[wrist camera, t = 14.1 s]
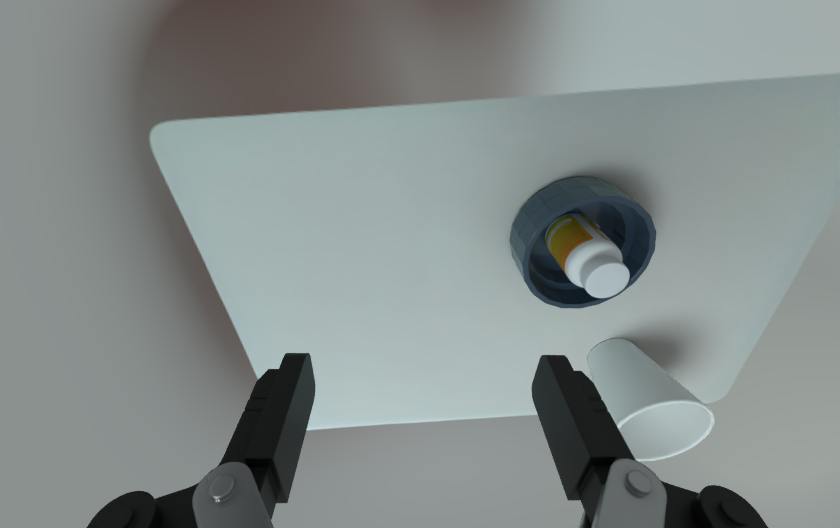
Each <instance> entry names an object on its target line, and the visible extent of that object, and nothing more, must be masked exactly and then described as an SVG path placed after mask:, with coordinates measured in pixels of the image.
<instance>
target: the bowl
mask: <svg viewBox="0 0 840 528" xmlns="http://www.w3.org/2000/svg"><path fill="white" fill-rule="evenodd" d="M569 213H579V214H582V215H584V216H586V217H587V218H588V219H590V220H591V221H592V222H593V223H594V224H595V225H596V226H597V227H598V228H599V229H600V230H601V231H602V232H603V233H604V234H605V235H606V236H607V237H608V238H609V239H610V240H611V241H612V242H613V243H614V244H615V245H616V246H617V247H618V248H619V250H620V251H621V254H622V262H623V264H624V265H625V266H626V267H627V268H628V270H629V273H630V278H629V281H628V283H627V285H626V286H625V288H624V289H623V290H622V291H620V292H619V293H617V294H616V295H614V296H611V297H608V298H596V297H593V296H591V295H590V294H589V293H588V292H587V291H586V290H585V289H584V288H583V287H579V286H577V285H575V284H574V283H572V282H571V281H570V280H569V278H568V277H567V276H566V274H565V273H564V271H563V270H562V268H561V267H560V265H559V264H558V262H557V261H556V259H555V258H554V257H553V255H552V254H551V252H550V251H549V249H548V248H547V246H546V243H545V234H546V231H547V229H548V227H549V225H550V224H551V223H552V222H553V221H554V220H555V219H557V218H558V217H560V216H562V215H565V214H569ZM655 240H656V230H655V227H654V224H653V221H652V218H651V216H650V215H649V214H648V213H647V212H646V211H645V210H644V209H643V208H642V207H641V206H640V205H639V204H638V203H637V202H635V201H634V200H633V199H631V198H630V197H628V196H627V195H625V194H624V193H622V192H621V191H620V190H618V189H617V188H615V187H614V186H612V185H611V184H609V183H607V182H604V181H601V180H599V179H596V178H590V177H573V178H569V179H565V180H562V181H558V182H555V183H553V184H551V185H549V186H548V187H546V188H544V189H543V190H541V191H539V192H537V194H535V195H534V196H533V197H532V198H531V199H530V200H529V201H528V202H527V203H526V204H525V205H524V206H523V207H522V208H521V210H520V212H519V214H518V216H517V217H516V219H515V221H514V223H513V226H512V231H511V236H510V246H511V252H512V256H513V258H514V260H515V262H516V264H517V266H518V268H519V271H520V273H521V275H522V277H523V279H524V281H525V282H526V284H527V286H528V287H529V289H530V291H531V292H532V294H533V295H535V296H536V297H538V298H539V299H540V300H542V301H543V302H545V303H547V304H550V305H553V306H557V307H560V308H584V307H588V306H593V305H597V304H600V303H602V302H605V301H607V300H609V299H611V298H613V297H615V296H617V295H619V294H620V293H621V292H623V291H624V290H625V289H627V288H628V287H629V286H631V285H632V284H633V283H635V281H636V280H637V279H638V278H639V276H640V275H641V274H642V273H643V272H644V270H645V269H646V268H647V266H648V264H649V262H650V259H651V257H652V255H653V253H654V250H655Z"/></svg>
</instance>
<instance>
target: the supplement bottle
mask: <svg viewBox="0 0 840 528" xmlns="http://www.w3.org/2000/svg"><path fill="white" fill-rule="evenodd" d="M545 243H546V246H547V248H548V249H549V251H550V252H551V254H552V255H553V257H554V258H555V259H556V261H557V262H558V264H559V265H560V267H561V268H562V270H563V271H564V273H565V274H566V276H567V277H568V278H569V280H570V281H571V282H572V283H574V284H575V285H577V286H579V287H583V288H584V289H585V290H586V291H587V292H588V293H589V294H590V295H591V296H593V297H596V298H608V297H611V296H614V295H616V294H617V293H619V292H620V291H622V290H623V289H624V288H625V286H626V285H627V283H628V281H629V278H630V273H629V270H628V268H627V267H626V266H625V265H624V264H623V262H622V254H621V251H620V250H619V248H618V247H617V246H616V245H615V244H614V243H613V242H612V241H611V240H610V239H609V238H608V237H607V236H606V235H605V234H604V233H603V232H602V231H601V230H600V229H599V228H598V227H597V226H596V225H595V224H594V223H593V222H592V221H591V220H590V219H588V218H587V217H586V216H584V215H582V214H579V213H569V214H565V215H562V216H560V217H558V218H557V219H555V220H554V221H553V222H552V223H551V224H550V225H549V227H548V229H547V231H546V234H545Z"/></svg>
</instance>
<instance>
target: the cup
mask: <svg viewBox="0 0 840 528" xmlns="http://www.w3.org/2000/svg"><path fill="white" fill-rule="evenodd" d="M587 361H588V366H589V369H590V373H591V376H592V380H593V383H594V385H595V387H596V389H597V390H598V392H599V394H600V396H601V400H603V401H604V403H605V405H606V407H607V410H608V412H610V414H611V416H612V418H613V420H614V422H615V423H616V425H617V427H618V429H619V431H620V433H621V434H622V436H623V438H624V440H625V442H626V444H627V445H628V447H629V449H630V451H631V453H632V455H633V456H634V458H635V459H636V461H653V460H658V459H665V458H668V457H671V456H674V455H677V454H680V453H682V452H684V451H686V450H689V449H690V448H692V447H693V446H695V445H697V444H698V443H700V442H701V441H702V440H703V439H704V438H705V437H706V436H707V435H708V434H709V433H710V431H711V430H712V428H713V424H714V421H715V418H714V414H713V411H712V410H711V409H710V408H709V407H708V406H707V405H706V404H704V403H702V402H701V401H700V400H699V399H697V398H696V397H695V396H694V395H693V394H691V393H690V392H689V391H688V390H687V389H686V388H684V387H683V386H682V385H681V384H680V383H679V382H677V381H676V380H675V379H674V378H673V377H671V376H670V375H669V374H668V373H667V372H666V371H664V370H663V369H662V368H661V367H660V366H659V365H657V364H656V363H655V362H654V361H653V360H651V359H650V358H649V357H648V356H647V355H646V354H644V353H643V352H642V351H641V350H640V349H639V348H637V347H636V346H635V345H634V344H633V343H631V342H630V341H628V340H626V339H622V338H614V339H609V340H606V341H603V342H601V343H599V344H598V345H596V346H595V347H594V348H593V349H592V350H591V351H590V353H589V355H588V358H587Z"/></svg>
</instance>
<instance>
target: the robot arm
mask: <svg viewBox="0 0 840 528" xmlns="http://www.w3.org/2000/svg"><path fill="white" fill-rule="evenodd" d="M314 396H315V380H314V374H313V368H312V363H311V357H310V354H309V353H286V354H285V356H284V358H283V360H282V363H281V365H280V368H279V369H268V370H267V371H266V372H265V373H264V375H263V376H262V377H261V378H260V379H259V380H258V381H257V382H256V384H255V387H254V389H253V391H252V393H251V396H250V399H249V400H248V402H247V405H246V407H245V411H244V412H243V414H242V416H241V418H240V420H239V423H238V425H237V428H236V430H235V432H234V434H233V437H232V439H231V441H230V443H229V446H228V448H227V450H226V452H225V454H224V457H223V459H222V461H221V462H220V464H219V465H218V466H217V467H216V468H214V469H213V470H211V471H210V472H209V473H208V474H207V475H206V476H205V477H204V478H203V479H202V480H201V481H200V482H199V483H198V484H196V485H194V486H192V487H189V488H187V489H183V490H181V491H177V492H175V493H171V494H168V495H165V496H162V497H159V498H156V499H154V498H153V496H152V495H150V494H149V493H147V492H144V491H134V492H130V493H126V494H124V495H122V496H120V497H118V498H116V499H114V500H113V501H111V502H110V503H108V504H107V505H106V506H105V507H104V508H102V509H101V510H100V511H99V512H98V513H97V514H96V516H95V517H94V518H93V519H92V520H91V522H90V523H89V525H88V527H87V528H274V527H273V525H272V522H271V519H272V515H273V512H274V508H275V504H276V503H287V502H288V498H289V494H290V490H291V487H292V482H293V479H294V475H295V471H296V467H297V464H298V460H299V456H300V452H301V448H302V444H303V440H304V436H305V433H306V429H307V425H308V421H309V417H310V413H311V410H312V406H313V402H314ZM532 397H533V402H534V405H535V408H536V410H537V413H538V416H539V419H540V422H541V425H542V427H543V430H544V433H545V436H546V439H547V442H548V445H549V448H550V450H551V453H552V456H553V459H554V462H555V465H556V467H557V470H558V473H559V476H560V479H561V482H562V485H563V487H564V490H565V493H566V496H567V499H568V500H581V502H582V505H583V508H584V510H585V511H584V513H583V515H582V518H581V522H580V525H579V528H768V527H767V525H766V524H765V522H764V521H763V520H762V518H761V517H760V515H759V514H758V513H757V511H756V510H755V509H754V508H753V507H752V506H751V505H750V504H749V503H748V502H747V501H746V500H745V499H743V498H742V497H741V496H739V495H738V494H736V493H735V492H733V491H731V490H729V489H727V488H724V487H721V486H715V485H712V486H707V487H705V488H704V489H703V490H702V491H701V492H700V493H696V492H693V491H690V490H686V489H683V488H680V487H677V486H674V485H670V484H668V483H665V482H663V481H661V480H660V479H659V478H658V477H657V476H656V474H655V473H654V472H653V471H651V470H650V469H649V468H648V467H646V466H645V465H643V464H642V463H640V462H638V461H636V459H635V458H634V456H633V455H632V453H631V451H630V449H629V447H628V445H627V444H626V442H625V440H624V438H623V436H622V434H621V433H620V431H619V429H618V427H617V425H616V423H615V422H614V420H613V418H612V416H611V414H610V412H608V410H607V407H606V405H605V403H604V401H603V400H601V396H600V394H599V392H598V390H597V389H596V387H595V385H594V383H593V382H592V381H591V380H590V379H589V378H588V377H587V376H586V375H585V374H584V373H583V372H582V371H574V370H573V368H572V366H571V364H570V362H569V360H568V359H567V357H566V356H564V355H542V356H541V358H540V360H539V364H538V367H537V370H536V373H535V377H534V380H533V383H532Z"/></svg>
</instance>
